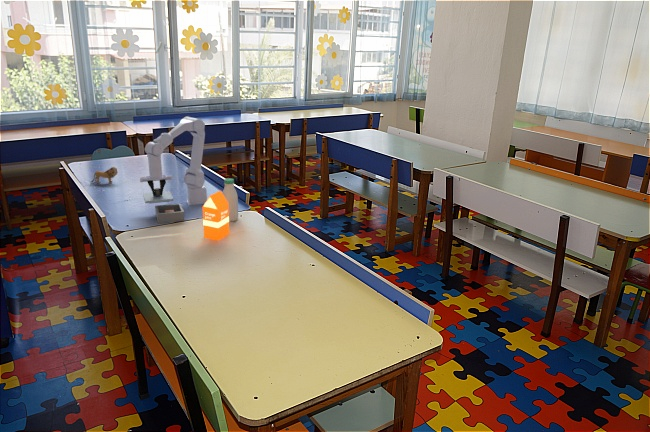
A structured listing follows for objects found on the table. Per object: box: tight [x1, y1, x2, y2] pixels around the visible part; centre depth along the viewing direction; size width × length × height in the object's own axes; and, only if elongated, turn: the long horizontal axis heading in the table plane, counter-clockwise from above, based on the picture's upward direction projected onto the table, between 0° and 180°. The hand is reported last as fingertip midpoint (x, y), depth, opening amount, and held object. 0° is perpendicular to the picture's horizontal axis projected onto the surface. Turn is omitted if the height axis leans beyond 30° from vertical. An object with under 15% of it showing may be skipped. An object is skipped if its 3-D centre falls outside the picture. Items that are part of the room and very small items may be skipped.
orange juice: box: [202, 189, 230, 242], centre depth 219 cm, size 8×9×20 cm
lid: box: [142, 187, 174, 205], centre depth 240 cm, size 13×13×5 cm
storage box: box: [154, 203, 186, 224], centre depth 239 cm, size 12×12×5 cm
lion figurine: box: [90, 166, 118, 184], centre depth 285 cm, size 15×5×9 cm, turn 103°
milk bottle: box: [221, 177, 239, 223], centre depth 238 cm, size 8×8×20 cm
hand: (157, 195), depth 240 cm, fingers closed on lid, 3 cm apart
